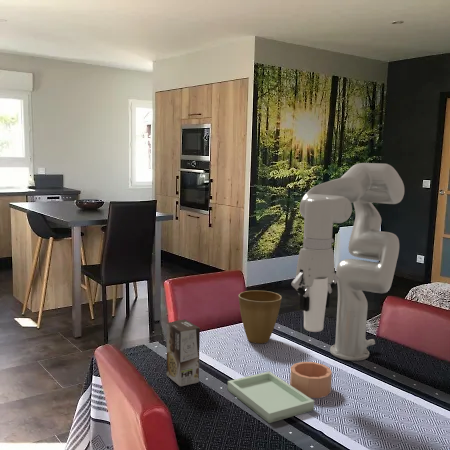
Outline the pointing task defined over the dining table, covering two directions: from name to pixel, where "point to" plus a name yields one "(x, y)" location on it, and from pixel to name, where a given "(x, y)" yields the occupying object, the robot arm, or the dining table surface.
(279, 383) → the tray
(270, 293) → the plant pot
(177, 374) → the coffee box
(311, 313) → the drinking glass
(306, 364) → the holder cup
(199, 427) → the dining table surface
